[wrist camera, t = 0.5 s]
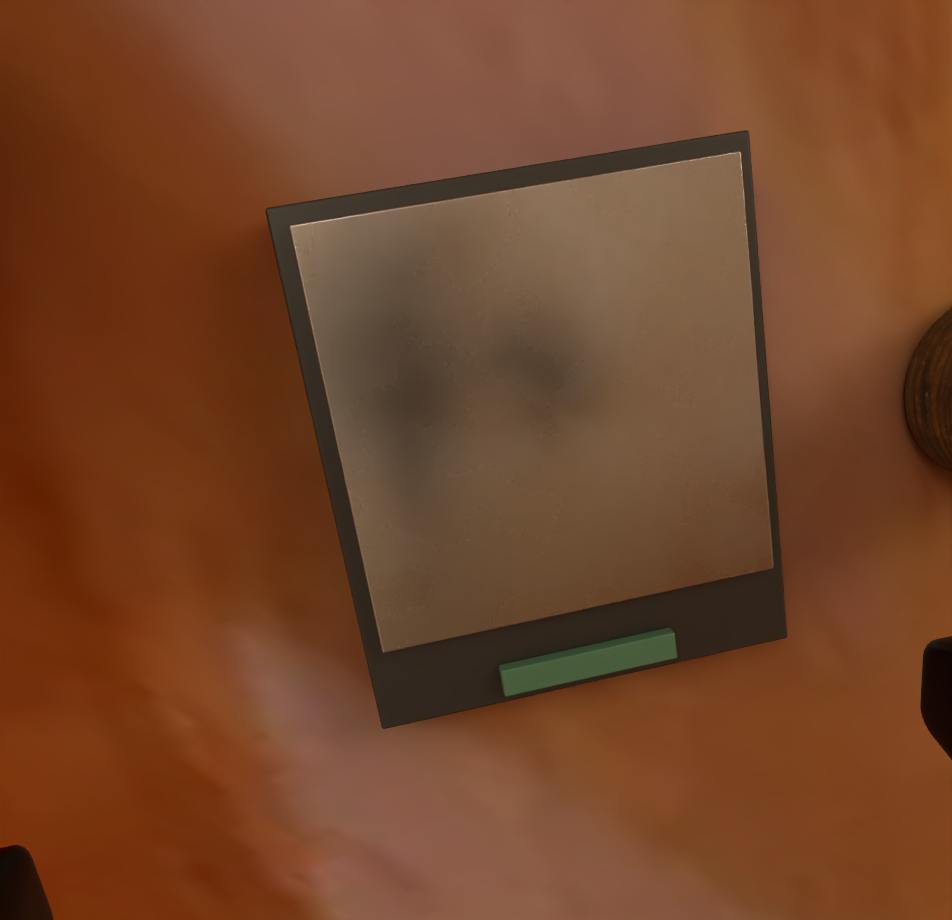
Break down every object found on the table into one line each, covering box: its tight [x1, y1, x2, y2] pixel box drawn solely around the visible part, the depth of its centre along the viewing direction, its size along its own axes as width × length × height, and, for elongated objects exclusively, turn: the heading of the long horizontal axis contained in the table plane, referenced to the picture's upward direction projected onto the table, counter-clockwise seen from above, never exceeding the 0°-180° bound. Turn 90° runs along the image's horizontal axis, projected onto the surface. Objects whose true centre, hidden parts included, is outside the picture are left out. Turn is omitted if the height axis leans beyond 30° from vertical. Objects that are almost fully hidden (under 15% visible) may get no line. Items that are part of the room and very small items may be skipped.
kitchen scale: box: [266, 130, 787, 729], centre depth 20 cm, size 14×12×2 cm
